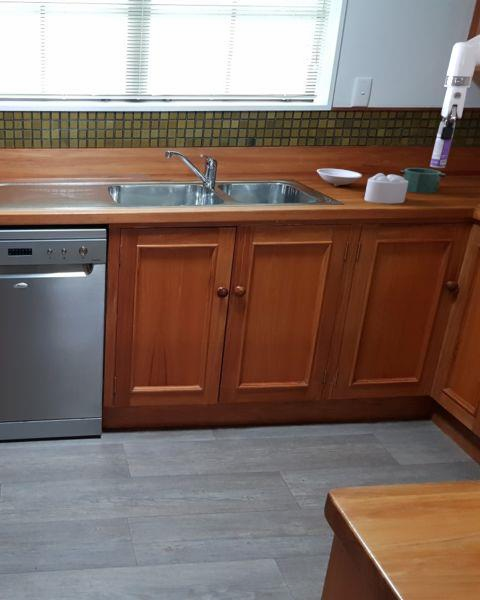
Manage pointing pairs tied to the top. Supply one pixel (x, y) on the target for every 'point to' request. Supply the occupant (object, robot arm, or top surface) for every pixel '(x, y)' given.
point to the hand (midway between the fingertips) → (444, 138)
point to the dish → (338, 176)
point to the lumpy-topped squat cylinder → (386, 189)
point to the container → (440, 149)
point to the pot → (422, 180)
